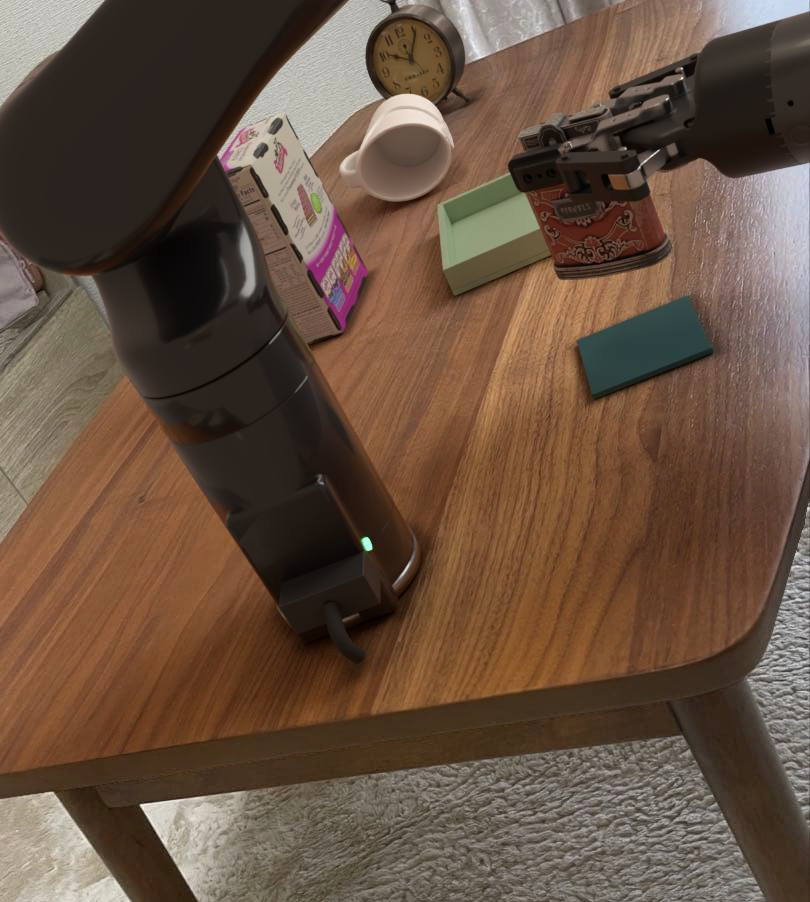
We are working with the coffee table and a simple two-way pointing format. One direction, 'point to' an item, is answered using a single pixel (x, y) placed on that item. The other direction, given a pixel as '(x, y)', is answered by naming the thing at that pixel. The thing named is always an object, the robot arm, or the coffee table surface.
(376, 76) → the alarm clock
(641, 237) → the lighter
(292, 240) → the candy bar box
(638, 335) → the mat
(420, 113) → the mug
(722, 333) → the coffee table surface
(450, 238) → the tray
